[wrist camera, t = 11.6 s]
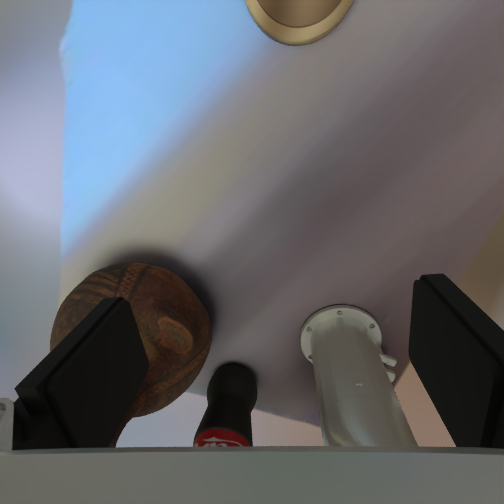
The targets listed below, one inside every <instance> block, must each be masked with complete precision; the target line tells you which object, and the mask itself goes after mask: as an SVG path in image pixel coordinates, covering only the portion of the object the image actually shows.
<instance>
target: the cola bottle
mask: <svg viewBox="0 0 504 504" xmlns="http://www.w3.org/2000/svg"><path fill="white" fill-rule="evenodd" d="M207 400H208V407H207V409H206V411H205V414H204V416H203V418H202V420H201V423H200V425H199V427H198V429H197V432H196V434H195V437H194V443H193V447H239V446H253V442H252V427H251V411H252V410H253V408H254V406H255V403H256V400H257V385H256V381H255V379H254V377H253V375H252V374H251V372H250V371H248V370H247V369H246V368H244V367H241V366H238V365H227V366H224V367H222V368H220V369H219V370H217V371H216V372H215V374H214V375H213V376H212V378H211V380H210V382H209V385H208V389H207Z"/></svg>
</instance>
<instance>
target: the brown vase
mask: <svg viewBox="0 0 504 504" xmlns="http://www.w3.org/2000/svg"><path fill="white" fill-rule="evenodd" d="M109 297H123V298H124V299H125V300H127V301H129V303H130V305H131V308H132V311H133V314H134V317H135V320H136V323H137V327H138V330H139V333H140V336H141V339H142V342H143V345H144V348H145V351H146V354H147V357H148V360H149V370H148V373H147V375H146V376H145V378H144V380H143V382H142V384H141V386H140V388H139V390H138V392H137V394H136V395H135V397H134V399H133V401H132V403H131V405H130V407H129V409H128V411H127V413H126V414H125V416H124V418H123V420H122V422H121V424H120V426H119V428H118V430H117V432H116V433H115V435H114V437H113V439H112V441H111V443H110V445H109V447H108V448H116V443H117V440H118V438H119V436H120V434H121V432H122V430H123V429H124V427H125V426H126V424H127V423H128V422H129V421H130V420H131V419H132V418H133V417H140V416H145V415H147V414H151V413H154V412H156V411H158V410H161V409H162V408H164V407H166V406H168V405H169V404H170V403H172V402H173V401H174V400H175V399H177V398H178V397H179V396H180V395H181V394H183V393H184V392H185V391H186V390H187V389H188V388H189V387H190V385H191V384H192V383H193V381H194V380H195V379H196V377H197V376H198V374H199V373H200V371H201V369H202V367H203V365H204V363H205V361H206V358H207V356H208V353H209V350H210V345H211V341H212V328H211V322H210V318H209V315H208V313H207V311H206V309H205V308H204V306H203V305H202V303H201V302H200V300H199V299H198V297H197V296H196V295H195V293H194V292H193V291H192V290H191V288H190V287H189V286H188V285H187V284H186V283H185V282H184V281H183V280H182V279H181V278H180V277H178V276H177V275H176V274H175V273H173V272H172V271H170V270H168V269H165V268H162V267H158V266H154V265H150V264H144V263H119V264H116V265H112V266H109V267H106V268H103V269H100V270H97V271H95V272H93V273H92V274H90V275H89V276H88V277H86V278H85V279H84V280H83V281H82V282H81V283H80V284H79V285H78V286H77V287H75V288H74V290H73V291H72V292H71V293H70V294H69V295H68V296H67V297H66V299H65V300H64V301H63V303H62V304H61V306H60V308H59V310H58V313H57V315H56V318H55V321H54V325H53V328H52V333H51V340H50V352H51V351H52V350H53V349H54V348H55V347H56V346H57V345H58V344H59V343H60V342H61V341H62V340H63V339H64V338H65V337H66V336H67V335H68V334H69V333H70V332H71V331H72V330H73V329H74V328H75V327H76V326H77V325H78V324H79V323H80V322H81V321H82V320H83V319H84V318H85V317H86V316H87V315H88V314H89V313H90V312H91V311H92V310H93V309H94V308H95V307H96V305H97V304H98V303H99V302H100V301H101V300H102V299H104V298H109Z"/></svg>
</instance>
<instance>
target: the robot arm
mask: <svg viewBox="0 0 504 504" xmlns="http://www.w3.org/2000/svg"><path fill="white" fill-rule="evenodd" d="M381 343H382V335H381V330H380V328H379V326H378V324H377V322H376V321H375V319H374V318H373V317H372V316H371V315H370V314H369V313H367V312H366V311H364V310H362V309H360V308H357V307H354V306H349V305H335V306H330V307H326V308H323V309H321V310H319V311H317V312H316V313H314V314H313V315H311V316H310V317H309V318H308V319H307V321H306V322H305V324H304V325H303V327H302V330H301V333H300V345H301V349H302V352H303V354H304V356H305V357H306V358H307V360H308V361H310V362H311V363H312V364H313V368H314V376H315V384H316V391H317V399H318V406H319V414H320V421H321V430H322V437H323V441H324V444H325V446H255V447H254V446H239V447H127V448H126V447H125V448H108V447H109V445H110V443H111V441H112V439H113V437H114V435H115V433H116V432H117V430H118V428H119V426H120V424H121V422H122V420H123V418H124V416H125V414H126V413H127V411H128V409H129V407H130V405H131V403H132V401H133V399H134V397H135V395H136V394H137V392H138V390H139V388H140V386H141V384H142V382H143V380H144V378H145V376H146V375H147V373H148V370H149V360H148V357H147V354H146V351H145V348H144V345H143V342H142V339H141V336H140V333H139V330H138V327H137V323H136V320H135V317H134V314H133V311H132V308H131V305H130V303H129V301H127V300H125V299H124V298H123V297H109V298H104V299H102V300H101V301H100V302H99V303H98V304H97V305H96V307H95V308H94V309H93V310H92V311H91V312H90V313H89V314H88V315H87V316H86V317H85V318H84V319H83V320H82V321H81V322H80V323H79V324H78V325H77V326H76V327H75V328H74V329H73V330H72V331H71V332H70V333H69V334H68V335H67V336H66V337H65V338H64V339H63V340H62V341H61V342H60V343H59V344H58V345H57V346H56V347H55V348H54V349H53V350H52V351H51V352H50V353H49V354H48V355H47V356H46V357H45V358H44V359H43V360H42V361H41V362H40V363H39V364H38V365H37V366H36V367H35V368H34V369H33V370H32V371H31V372H30V373H29V374H28V375H27V376H26V377H25V378H24V379H23V380H22V381H21V382H20V383H19V384H18V385H17V386H16V387H15V390H16V392H17V394H18V396H19V398H18V399H17V400H16V401H15V402H13V401H12V400H11V399H9V398H0V504H504V331H503V330H502V329H501V328H500V327H499V326H498V325H497V324H496V323H495V322H494V321H493V320H492V319H491V318H490V317H489V316H487V314H486V313H485V312H483V311H482V310H481V309H480V308H479V307H478V306H477V305H476V304H475V303H474V302H473V301H472V300H471V299H470V298H469V297H467V295H466V294H464V293H463V292H462V291H461V290H460V289H459V288H458V287H457V286H456V285H455V284H454V283H453V282H452V281H451V280H450V279H449V278H448V277H447V276H445V275H444V274H429V275H422V276H421V277H420V280H415V282H414V286H413V299H412V312H411V325H410V337H409V357H410V361H411V363H412V365H413V366H414V368H415V370H416V372H417V374H418V376H419V378H420V380H421V381H422V383H423V385H424V387H425V389H426V391H427V392H428V395H429V396H430V398H431V400H432V402H433V404H434V406H435V408H436V409H437V411H438V413H439V415H440V417H441V419H442V421H443V422H444V424H445V426H446V428H447V430H448V432H449V434H450V435H451V437H452V439H453V441H454V443H455V445H456V447H418V445H417V442H416V440H415V438H414V436H413V434H412V431H411V429H410V427H409V424H408V422H407V419H406V417H405V415H404V412H403V410H402V408H401V405H400V403H399V400H398V398H397V396H396V393H395V391H394V388H393V386H392V384H391V382H393V381H394V379H395V372H394V370H391V369H389V368H386V367H384V365H383V363H385V364H387V365H389V366H392V367H394V366H395V365H396V362H397V361H396V359H395V358H394V357H391V356H389V355H385V354H383V352H382V349H381Z"/></svg>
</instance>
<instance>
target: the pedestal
mask: <svg viewBox="0 0 504 504" xmlns="http://www.w3.org/2000/svg"><path fill="white" fill-rule="evenodd" d="M353 1H354V0H246V4H247V7H248V9H249V12H250V14H251V16H252V18H253V20H254V22H255V23H256V24H257V26H258V27H259V28H260V29H261V30H262V31H263V32H264V33H265V34H266V35H267V36H268V37H270V38H271V39H273V40H275V41H276V42H279V43H282V44H285V45H291V46H300V45H306V44H310V43H313V42H315V41H318V40H319V39H321V38H323V37H324V36H326V35H327V34H328V33H330V32H331V31H332V30H333V29H334V28H335V27H336V26H337V25H338V24H339V22H340V21H341V20H342V18H343V17H344V15H345V14H346V12H347V11H348V9H349V7H350V6H351V4H352V3H353Z"/></svg>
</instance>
